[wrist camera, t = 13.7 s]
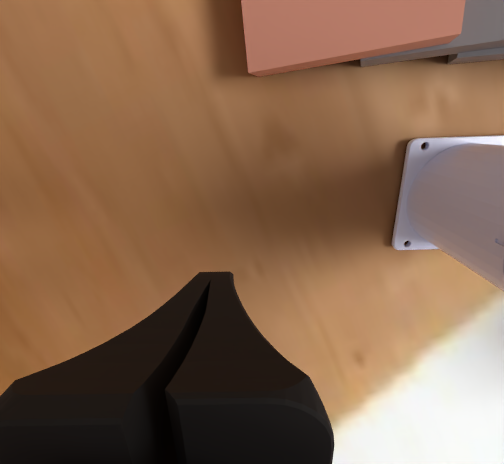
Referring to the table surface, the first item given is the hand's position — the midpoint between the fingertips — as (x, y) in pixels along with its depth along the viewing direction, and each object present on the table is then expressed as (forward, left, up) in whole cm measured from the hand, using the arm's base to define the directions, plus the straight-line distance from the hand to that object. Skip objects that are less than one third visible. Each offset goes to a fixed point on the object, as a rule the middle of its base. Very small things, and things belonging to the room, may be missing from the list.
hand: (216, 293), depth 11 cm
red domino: (-2, -12, -9) cm, 15 cm away
